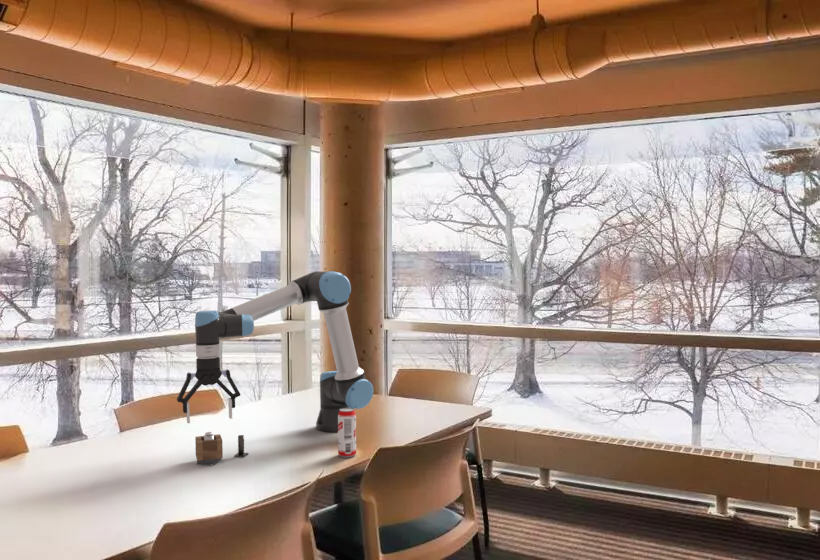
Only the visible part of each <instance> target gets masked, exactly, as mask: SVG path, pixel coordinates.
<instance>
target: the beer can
mask: <svg viewBox="0 0 820 560" xmlns="http://www.w3.org/2000/svg"><path fill="white" fill-rule="evenodd" d="M337 454H338V456H340V458H345V459H346V458H352V457H354V456H355V455H356V454H357V415H356V412H355V409H353V408H342V409H340V411H339V413H338V432H337Z"/></svg>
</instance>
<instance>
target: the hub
mask: <svg viewBox="0 0 820 560" xmlns="http://www.w3.org/2000/svg"><path fill="white" fill-rule="evenodd" d="M214 435H215V434H213V432H212V431H208V432H205V433H204V435H203V436H204V441H205V440H214ZM222 459H223V458H218V459H209V460H200V461H197V460H196V465H198V464H201V465H204V466H215V465H217V463H219V462H220V461H222Z"/></svg>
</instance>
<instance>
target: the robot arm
mask: <svg viewBox="0 0 820 560" xmlns="http://www.w3.org/2000/svg"><path fill="white" fill-rule="evenodd" d="M351 286H352V285H351V282H350V280H349V278H348V277H347V276H346V275H344V274H343V273H342V272H337V271H332V270H330V271H327V270H326V271H313V272H309V273H307V274H305V275H303V276H300V277H298V278H296V279H294V280H291V281H289V282H288V285H286V286H284V287H281V288H278V289H276V290H273V291H270V292H267V293H266V294H263V295H260V296H258V297H256V298H253V299H251V300H248V301H246V302H243V303H239V304H238V305H236V306H233V307H230V308H229V309H226V310H223V311H217V310H200V311H199V310H198V311H197V312H196V313H195V319H194V327H195V328H194V330H195V356H196V359H195V361H196V363H195V365H196V367H195V368H196V370H195V371H196V372H195V373H193V372H192V373H191V372H187V373H186V378H185V380H184V383H183V385H182V387H181V390H180V391H179V394H178V396H177V398H176V402H178V403H182V412H183V414H186V423H187V424H190V423H191V419H190V418H191V417H190V416H191V413H190V411H191V410H190V402H189V401H190V400H191V399H192V396H194V394H195V393H196V392H197V390H198V389H199V388H200V387H201V386H202V385H203V386H208V385H210V386H213V385H216V384H217V385H218V386H219V387H220V388H221V389H222V390H223V391H224V392H225V393H226V394H227V395H228V396H229V397H228V400H227V401H228V418H229V420H231V419H233V409H235V408H236V399H237V398H238V397H241V393H240V391H239V388H238V387H237V385H236V384H235V382H234V380H233V378H232V376H231V371H230V369H224V370H221V359H220V357H219V356H220V355H221V354H220V339H224V338H237V337H243V338H244V337H247V336H251V335H252V334H253V332H254V328H255V323H254V322H255V321H257V320H259V319H262V318H264V317H266V316H269V315H272V314H275V313H276V312H278V311H281V310H284V309H286V308H288V307H291V306H293V305H299V306H301V305H302V304H305V303H309V302H317V308H318V311H320V312H321V313H323V316H324V320H325V324H326V328H327V332H328V333H327V334H328V337H329V342H330V346H331V351H332V354H333V359H334V363H335V367H336V370H329V371H323V372H321V374H320V376H319V390H320V391H319V393H320V394H319V397H320V398H319V399H320V403H319V404H320V405H319V406H320V408H319V412H318V416H317V419H316V423H315V425H316V426H315V429H316V430H318V431H320V432H325V433H326V432H329V433H333V432H334V433H338V413H339V411H340V409H342V408H353V409H354V410H361V409H363V408H365V407H367V406H368V405H369V404H370V402H371V401H372V399H373V396H374V385H373V384H372V383H371V381H369V379H366V374H365V370H364V369H363V368H362V367H360V365H359V362H358V356H357V352H356V348H355V344H354V343H355V342H354V339H353V338H354V337H353V335H352V334H353V333H352V330H351V325H350V322H349V321H350V319H349V315H348V312H347V307H348V305H349V304H350V303H349V297H350V294H351V292H352V287H351ZM222 375H223V376H224V377H225V378H226V379H227V381H228V383H229V384H230V387H231V388H232V390H233V392H234V393H233V392H232V391H231V390H230V389H229V388H228V387H227V386H226V385H225V384H224V383H223V382H222V381H221V380H220V378H221V377H222ZM194 378H196V379H197V381H196V382H195V384H194V385H193V386H192V388H191V389H190V390H189V391H188V392H187V389H188V388H189V385H190V383H191V381H193V379H194ZM186 392H187V394H186ZM185 394H186V395H185Z"/></svg>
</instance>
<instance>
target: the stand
mask: <svg viewBox="0 0 820 560" xmlns="http://www.w3.org/2000/svg"><path fill="white" fill-rule="evenodd" d="M237 445H238V446H237V451H238V452H236V454H234V455H233V457H234V458H246V457H247V456H248V455H249V452H245V435H244V434H239V435H238V436H237Z"/></svg>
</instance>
